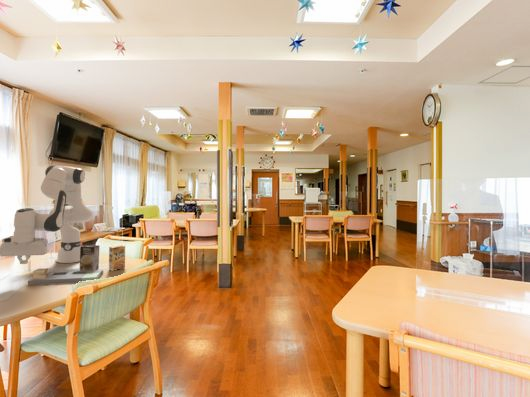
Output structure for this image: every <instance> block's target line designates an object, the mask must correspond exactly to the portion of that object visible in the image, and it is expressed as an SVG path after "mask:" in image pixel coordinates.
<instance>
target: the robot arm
mask: <svg viewBox="0 0 530 397" xmlns="http://www.w3.org/2000/svg"><path fill="white" fill-rule="evenodd" d="M44 173H45V174H44V175H45V176H44V178H43V181H42V182H41V185H40V190H41V192H42V194H43V195H44V196H46V197H47V198H50V199H52V200H54V204H53V208H52V209H51V210H50V211H49V213H38V212H36V211H35V209H34V208H31V207H30V208H29V207H26V208H20V209H17V210H16V212H15V214H14V218H13V219H14V220H13V227H14V231H13V235H11V236H7V237H5V238H2V239H1V244H0V257H16V258H17V259H18V261H19V265H26V264H28V262H29V260H30V259H31V256H45V255H46V254H47V253H48V245H47V244H48V240H47V239H46V238H44V237H40V238H39V237H36V231H37V232H38V231H39V232H41V231H42V232H46V231H47V232H52V233H53V232H57V231H59V230H60V233H61V235H60V236H61V242H60V248H59V249H57V259H55V260H54V262H56V263H60V264H73V263H77V262H78V263H80V247H81V246H82V240H81V230H80V229H79V228H77V227H75V226H72V225H71V223H86V222H90V221H91V220H92V218H93V211H92V210H91V209H90V208H89V207H87V206H86V204H84V202H83V200H82V183H83V182H84V181H85V176H86V172H85V171H84V170H83V168H80V167H73V166H67V165H66V166H65V165H49V166H48V167H47V168H46V169H45V171H44ZM66 204H68V205H70V206H71V207H66ZM23 256H24V257H25V259H23Z"/></svg>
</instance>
